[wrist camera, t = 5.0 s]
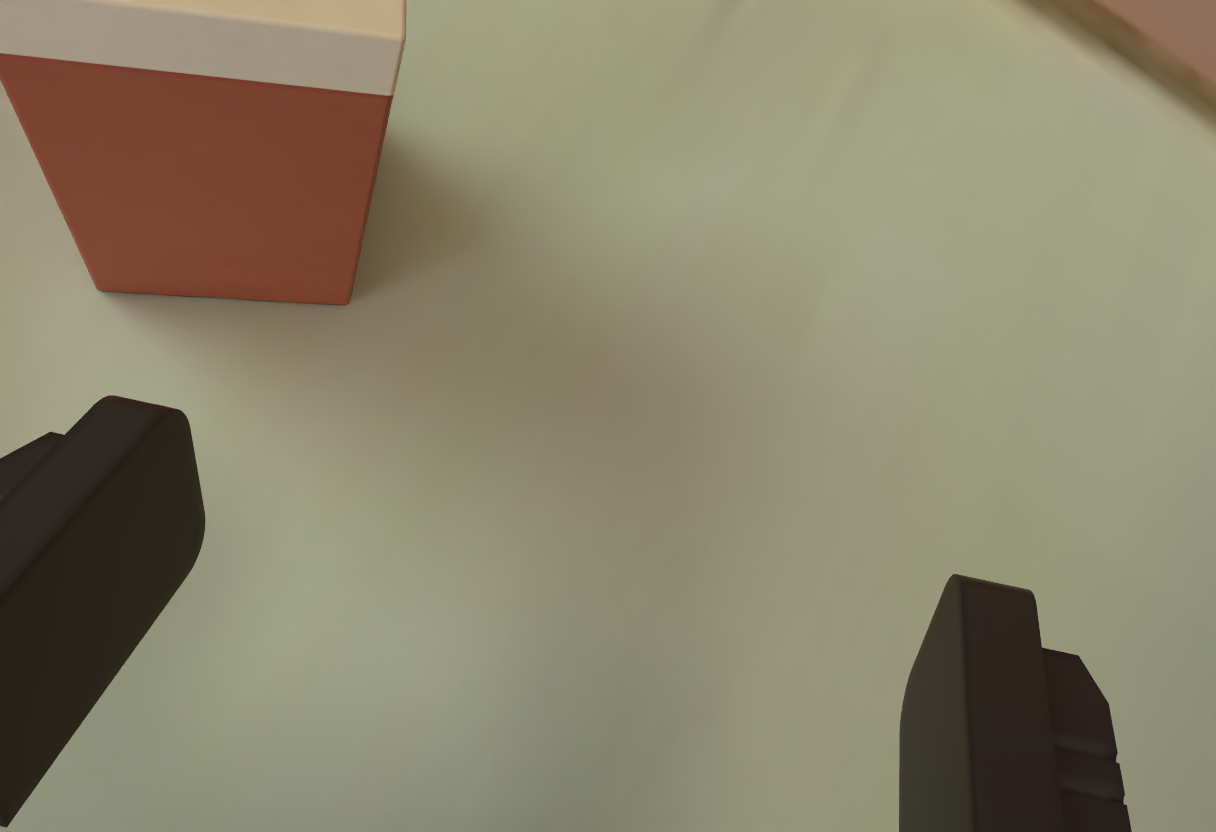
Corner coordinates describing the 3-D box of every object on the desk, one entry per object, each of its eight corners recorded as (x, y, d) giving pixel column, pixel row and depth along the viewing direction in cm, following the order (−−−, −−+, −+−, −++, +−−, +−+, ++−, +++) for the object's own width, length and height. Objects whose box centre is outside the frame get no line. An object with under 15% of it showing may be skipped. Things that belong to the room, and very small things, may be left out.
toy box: (353, 111, 23) (408, -274, 14) (349, 306, 22) (406, 40, 13) (110, 85, 22) (-12, -358, 12) (95, 292, 21) (-48, -18, 11)
